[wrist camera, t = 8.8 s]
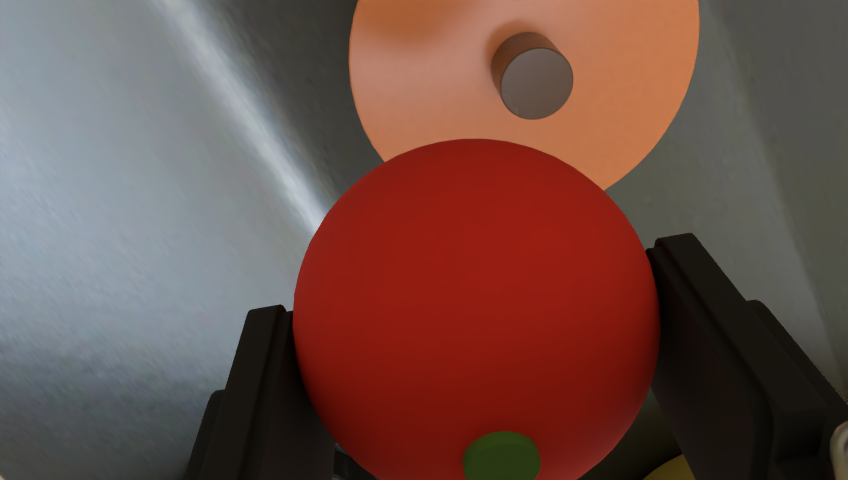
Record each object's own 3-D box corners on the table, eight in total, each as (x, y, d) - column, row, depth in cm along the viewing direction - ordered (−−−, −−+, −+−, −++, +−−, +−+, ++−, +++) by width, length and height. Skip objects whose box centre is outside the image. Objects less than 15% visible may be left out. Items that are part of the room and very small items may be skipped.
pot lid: (303, -83, 21) (292, -72, 18) (685, -182, 20) (732, -186, 17) (396, 234, 27) (398, 276, 24) (688, 168, 26) (723, 204, 24)
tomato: (272, 120, 12) (191, 336, 7) (589, 57, 12) (758, 231, 7) (349, 355, 15) (334, 628, 10) (601, 309, 15) (722, 565, 10)
